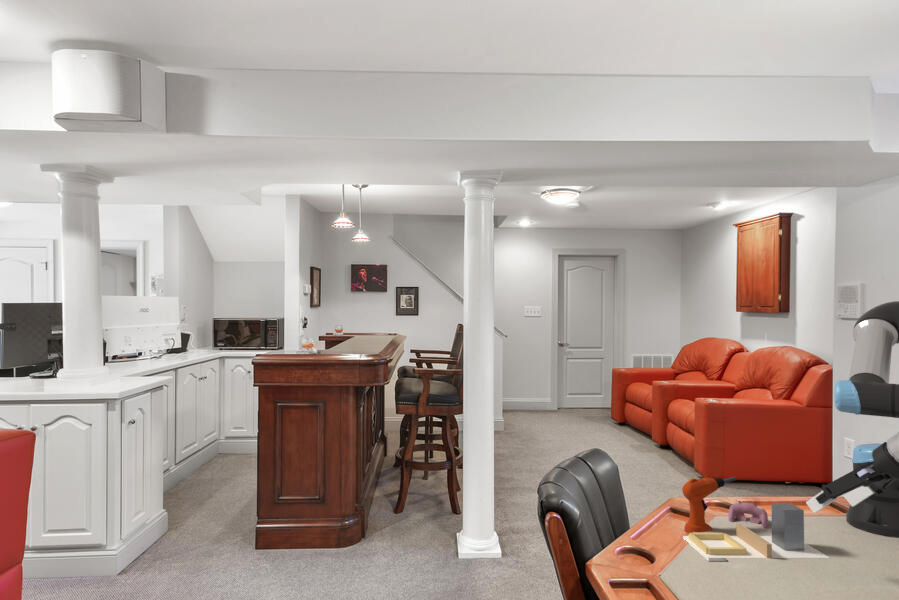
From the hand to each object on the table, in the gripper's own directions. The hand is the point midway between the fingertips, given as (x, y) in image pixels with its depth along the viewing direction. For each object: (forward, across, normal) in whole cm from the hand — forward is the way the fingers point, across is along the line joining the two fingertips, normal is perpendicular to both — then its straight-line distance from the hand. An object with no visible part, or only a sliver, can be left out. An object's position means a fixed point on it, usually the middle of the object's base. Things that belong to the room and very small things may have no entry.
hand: (830, 504), depth 125 cm
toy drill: (+30, -8, +9) cm, 32 cm away
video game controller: (+29, +6, +8) cm, 31 cm away
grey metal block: (+17, 0, -2) cm, 18 cm away
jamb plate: (+20, -8, -1) cm, 22 cm away
